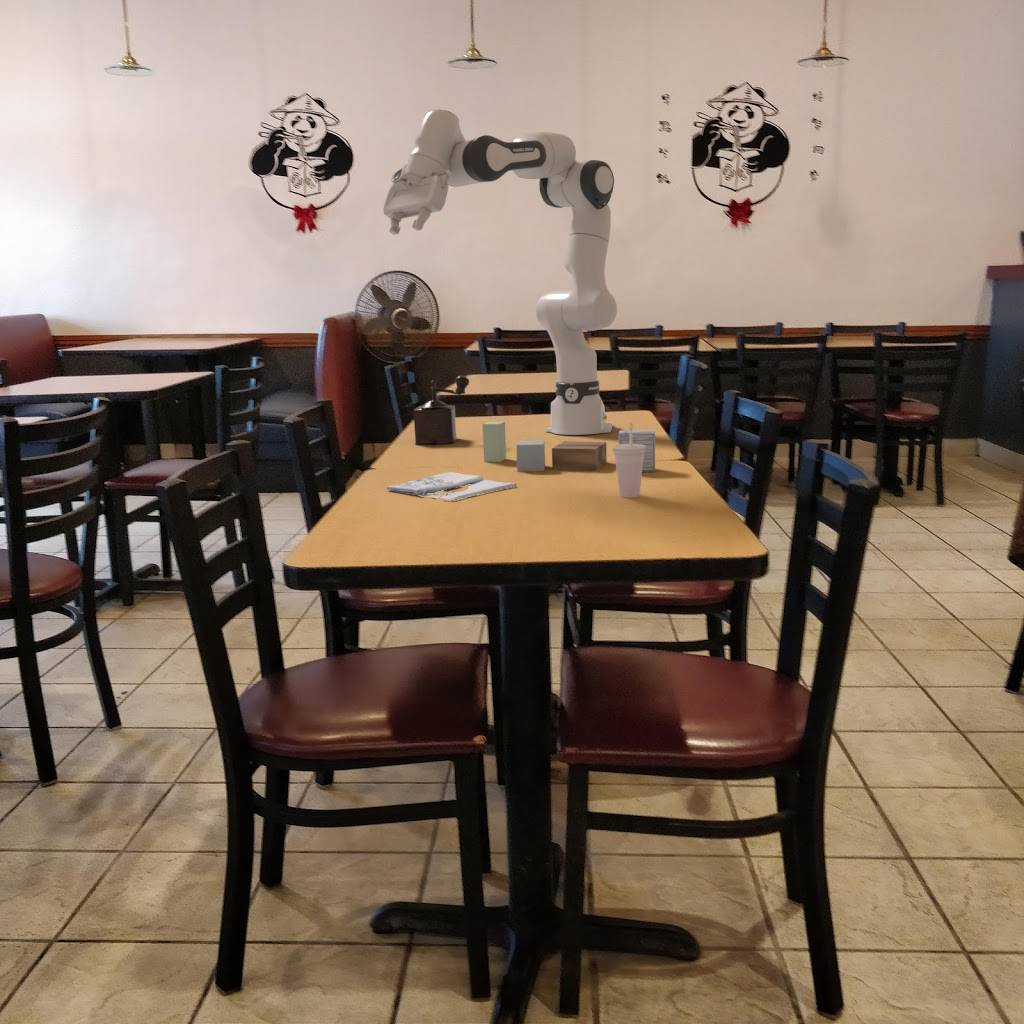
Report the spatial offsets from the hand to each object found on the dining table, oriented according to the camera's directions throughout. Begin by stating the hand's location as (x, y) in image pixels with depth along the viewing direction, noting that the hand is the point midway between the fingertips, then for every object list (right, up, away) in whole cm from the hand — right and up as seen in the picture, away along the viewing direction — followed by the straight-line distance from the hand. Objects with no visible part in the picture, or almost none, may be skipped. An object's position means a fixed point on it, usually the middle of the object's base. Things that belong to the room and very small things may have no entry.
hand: (404, 231), depth 219 cm
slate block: (+29, -55, -3) cm, 62 cm away
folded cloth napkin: (+12, -61, -23) cm, 66 cm away
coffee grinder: (+6, -46, +40) cm, 61 cm away
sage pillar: (+21, -52, +9) cm, 57 cm away
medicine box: (+52, -56, -10) cm, 77 cm away
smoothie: (+47, -62, -35) cm, 85 cm away
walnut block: (+40, -54, -2) cm, 68 cm away
